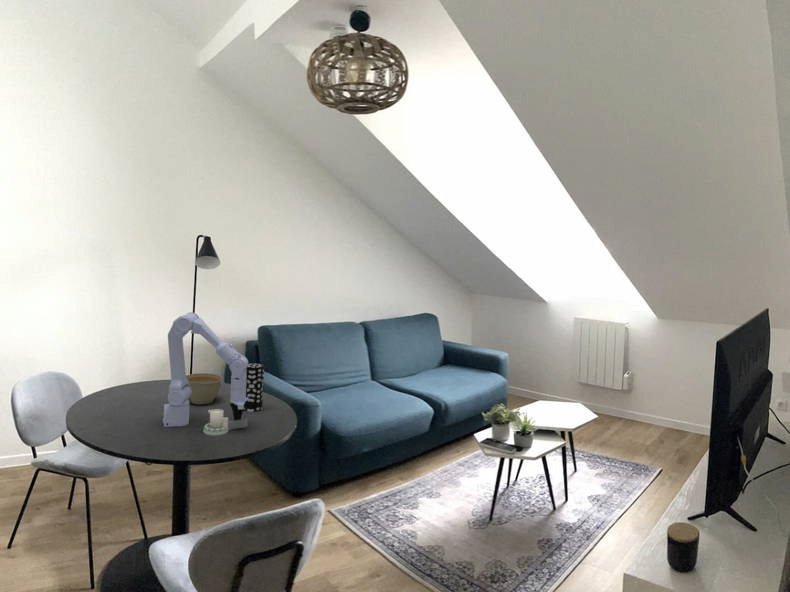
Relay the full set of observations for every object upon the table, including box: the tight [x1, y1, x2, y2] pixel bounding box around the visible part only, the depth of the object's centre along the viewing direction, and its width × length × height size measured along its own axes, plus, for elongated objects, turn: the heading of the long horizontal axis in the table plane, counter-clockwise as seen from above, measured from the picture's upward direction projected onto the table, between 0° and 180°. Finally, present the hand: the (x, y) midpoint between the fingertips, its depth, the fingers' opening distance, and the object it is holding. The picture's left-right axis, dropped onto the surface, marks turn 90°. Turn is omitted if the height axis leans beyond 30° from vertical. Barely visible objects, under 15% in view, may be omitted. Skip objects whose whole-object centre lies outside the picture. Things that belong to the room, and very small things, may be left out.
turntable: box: [203, 418, 249, 437], centre depth 217 cm, size 14×14×3 cm
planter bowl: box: [186, 372, 223, 405], centre depth 252 cm, size 16×16×11 cm
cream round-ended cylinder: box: [207, 408, 229, 430], centre depth 215 cm, size 8×5×7 cm, turn 83°
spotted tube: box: [243, 362, 265, 413], centre depth 243 cm, size 8×8×20 cm
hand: (237, 421), depth 222 cm, fingers closed, pressing on turntable
